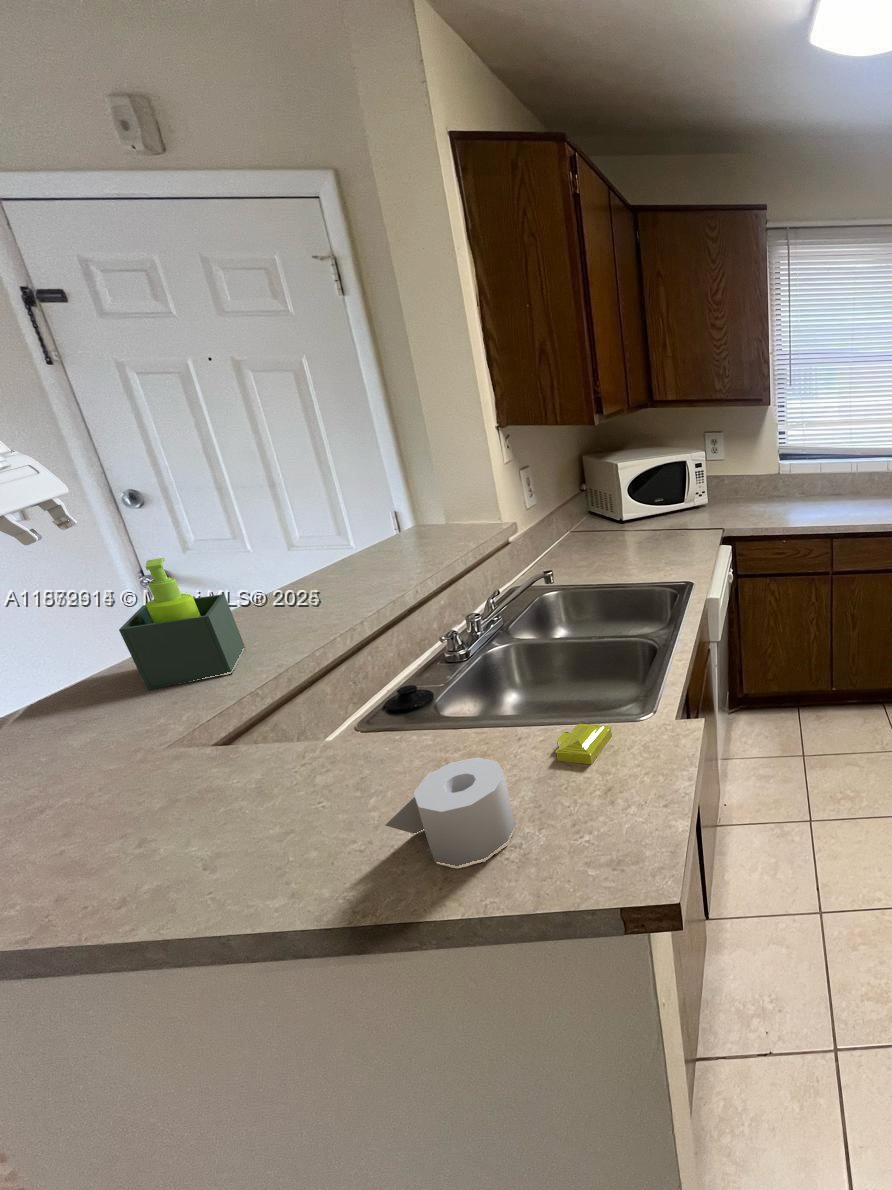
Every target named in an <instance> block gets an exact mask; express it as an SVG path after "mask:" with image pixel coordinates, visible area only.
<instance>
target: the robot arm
mask: <svg viewBox="0 0 892 1190" xmlns="http://www.w3.org/2000/svg"><path fill="white" fill-rule="evenodd" d="M69 493H70V490H69V488H68V486H67V485H66V484H65V482H64V481H62V480H61V479H60V478H59V477H58V476H56V475H55V474H54V473H53V472H51V471H50V470H49V469H48V468H47V467H45V466H44V465H43V464H41V463H40V462H39V461H37V460H36V459H35V458H33V457H31V456H30V455H27V454H24V453H20V452H19V451H15V450H13V449H11V448H10V447H9V446H7V445H6V444H5V443H4V442H3V441H2V440H0V532H1V533H4V534H6V535H8V536H10V537H13V538H14V539H16V540H17V541H18V542H19V543H20V544H21V545H23V546H30V545H32V544H35V543H37V542H39V541H41V540H42V539H43V536H42V535H41V534H40V533H38V532H37V530H35V529H34V528H31V529H30V528H28V527H26V526H24V525H22V524H21V523H20V522H17V521H18V519H17V518H16V517H15V516H14V515H13V514H16V513H19V512H23V511H25V510H28V509H30V508H33V507H37V506H38V507H39V508H40V509H41V510H42V511H44V512H46V511H47V513H48V514H49V515H50V516H51V519H53V520H52V521H51V522H52V523H53V524H54V525H55V526H57V528H58V529H59V530H62V531H65V530H68V529H70V528H72V527H75V526H76V525H78V522H77V520H76V519H75V518H73V516H72V515H71V514H70V513H69V511H68V509H67V506H66V505H65V503H64V502H63V501H62V500H61V499H59V498H61V497H63V496H65V495H67V494H69Z"/></svg>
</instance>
